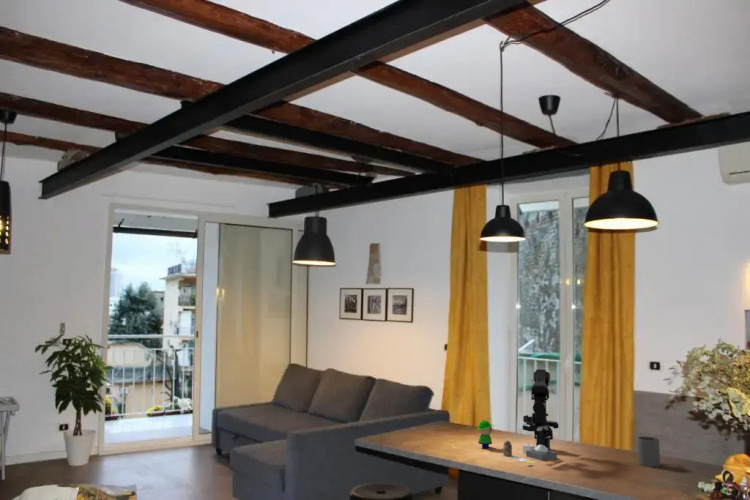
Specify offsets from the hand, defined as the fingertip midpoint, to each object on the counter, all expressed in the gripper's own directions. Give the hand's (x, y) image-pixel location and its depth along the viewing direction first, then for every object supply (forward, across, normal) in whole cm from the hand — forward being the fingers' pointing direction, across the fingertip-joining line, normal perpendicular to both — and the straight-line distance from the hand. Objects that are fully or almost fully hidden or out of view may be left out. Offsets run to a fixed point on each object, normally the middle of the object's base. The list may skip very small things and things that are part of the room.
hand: (541, 444), depth 301 cm
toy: (+8, +8, -31) cm, 33 cm away
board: (+7, +4, -4) cm, 9 cm away
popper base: (+6, 0, 0) cm, 6 cm away
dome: (+5, 0, 0) cm, 5 cm away
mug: (+8, -38, +32) cm, 51 cm away
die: (+6, -2, -10) cm, 12 cm away
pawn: (+6, +12, -11) cm, 17 cm away
